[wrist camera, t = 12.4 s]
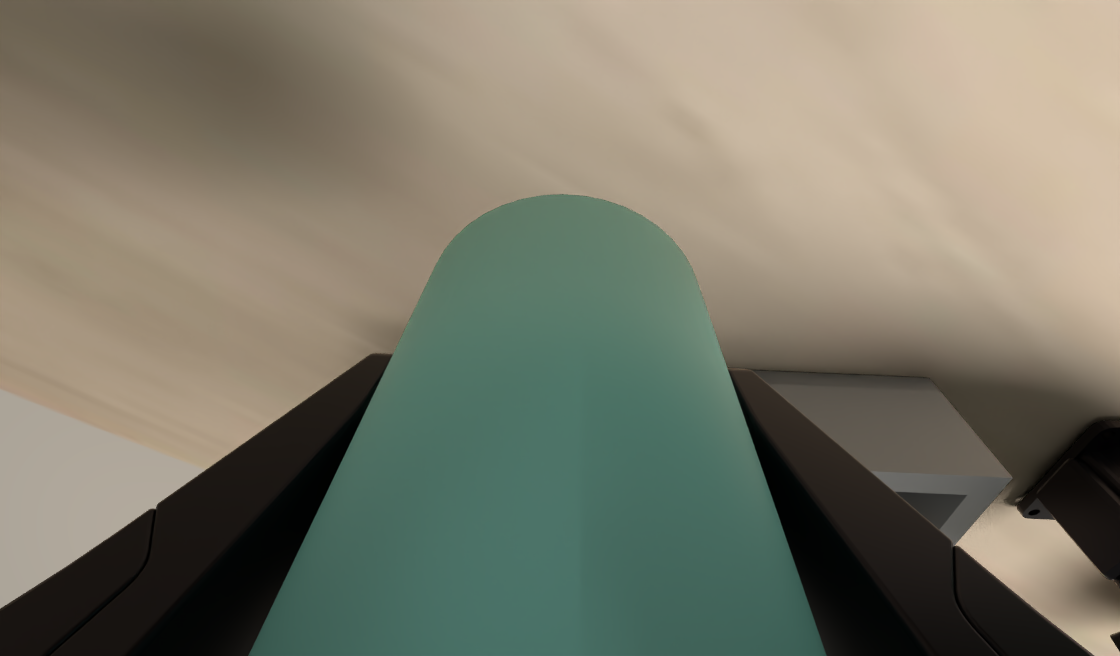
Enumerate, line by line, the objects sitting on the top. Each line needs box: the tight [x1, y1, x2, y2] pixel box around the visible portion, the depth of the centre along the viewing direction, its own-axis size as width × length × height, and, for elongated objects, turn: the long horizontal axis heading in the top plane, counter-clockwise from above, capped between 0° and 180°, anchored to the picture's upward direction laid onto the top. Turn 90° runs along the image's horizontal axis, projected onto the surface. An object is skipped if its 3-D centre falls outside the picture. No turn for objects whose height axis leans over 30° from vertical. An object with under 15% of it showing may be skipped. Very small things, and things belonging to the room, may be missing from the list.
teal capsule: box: [248, 194, 827, 656], centre depth 7 cm, size 5×5×7 cm
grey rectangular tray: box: [752, 370, 1013, 546], centre depth 23 cm, size 18×14×5 cm
